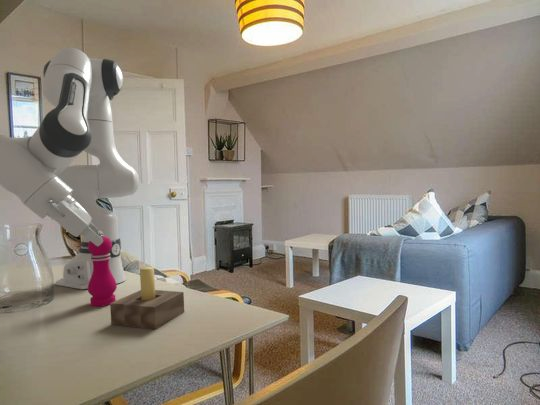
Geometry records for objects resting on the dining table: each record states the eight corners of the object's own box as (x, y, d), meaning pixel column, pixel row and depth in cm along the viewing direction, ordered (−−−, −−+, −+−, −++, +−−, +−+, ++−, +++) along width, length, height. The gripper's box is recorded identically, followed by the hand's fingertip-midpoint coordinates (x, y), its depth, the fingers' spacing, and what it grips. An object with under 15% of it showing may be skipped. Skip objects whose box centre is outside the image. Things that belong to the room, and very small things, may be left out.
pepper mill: (88, 301, 108) (84, 230, 107) (115, 297, 112) (112, 228, 111) (89, 309, 102) (85, 233, 101) (118, 304, 105) (114, 230, 104)
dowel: (139, 319, 93) (137, 269, 92) (147, 315, 96) (145, 266, 95) (150, 320, 92) (148, 270, 91) (159, 316, 95) (156, 267, 94)
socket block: (111, 324, 90) (110, 303, 90) (143, 308, 101) (143, 289, 101) (155, 329, 86) (154, 307, 86) (184, 311, 97) (183, 292, 97)
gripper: (57, 189, 77) (112, 235, 81) (67, 188, 96) (111, 226, 100) (32, 212, 75) (89, 258, 80) (47, 207, 94) (92, 245, 98)
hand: (101, 240), depth 90 cm, fingers open, 8 cm apart
